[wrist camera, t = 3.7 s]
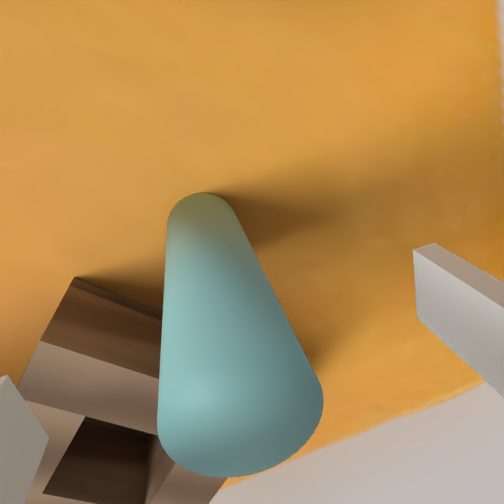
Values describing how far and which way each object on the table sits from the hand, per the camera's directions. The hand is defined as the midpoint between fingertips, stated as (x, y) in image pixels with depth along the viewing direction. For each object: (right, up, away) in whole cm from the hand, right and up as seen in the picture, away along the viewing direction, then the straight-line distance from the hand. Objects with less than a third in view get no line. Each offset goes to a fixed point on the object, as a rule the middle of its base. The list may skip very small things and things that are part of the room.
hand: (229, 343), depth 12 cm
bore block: (-7, -6, +13) cm, 16 cm away
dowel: (-2, +4, +9) cm, 11 cm away
